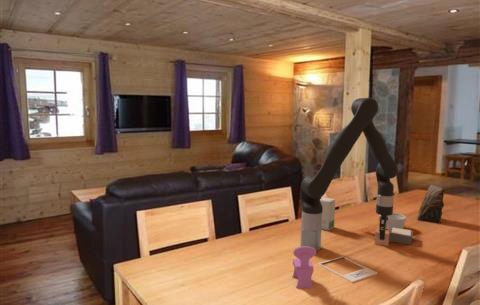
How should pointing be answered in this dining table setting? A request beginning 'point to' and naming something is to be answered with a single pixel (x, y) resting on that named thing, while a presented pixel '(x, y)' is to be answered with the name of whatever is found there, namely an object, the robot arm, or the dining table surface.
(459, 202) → the dining table surface
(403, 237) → the block
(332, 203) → the skincare box
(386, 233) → the cube
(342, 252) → the dining table surface
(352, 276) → the photo frame
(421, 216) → the dark rock
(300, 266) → the purple figurine
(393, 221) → the ramekin
